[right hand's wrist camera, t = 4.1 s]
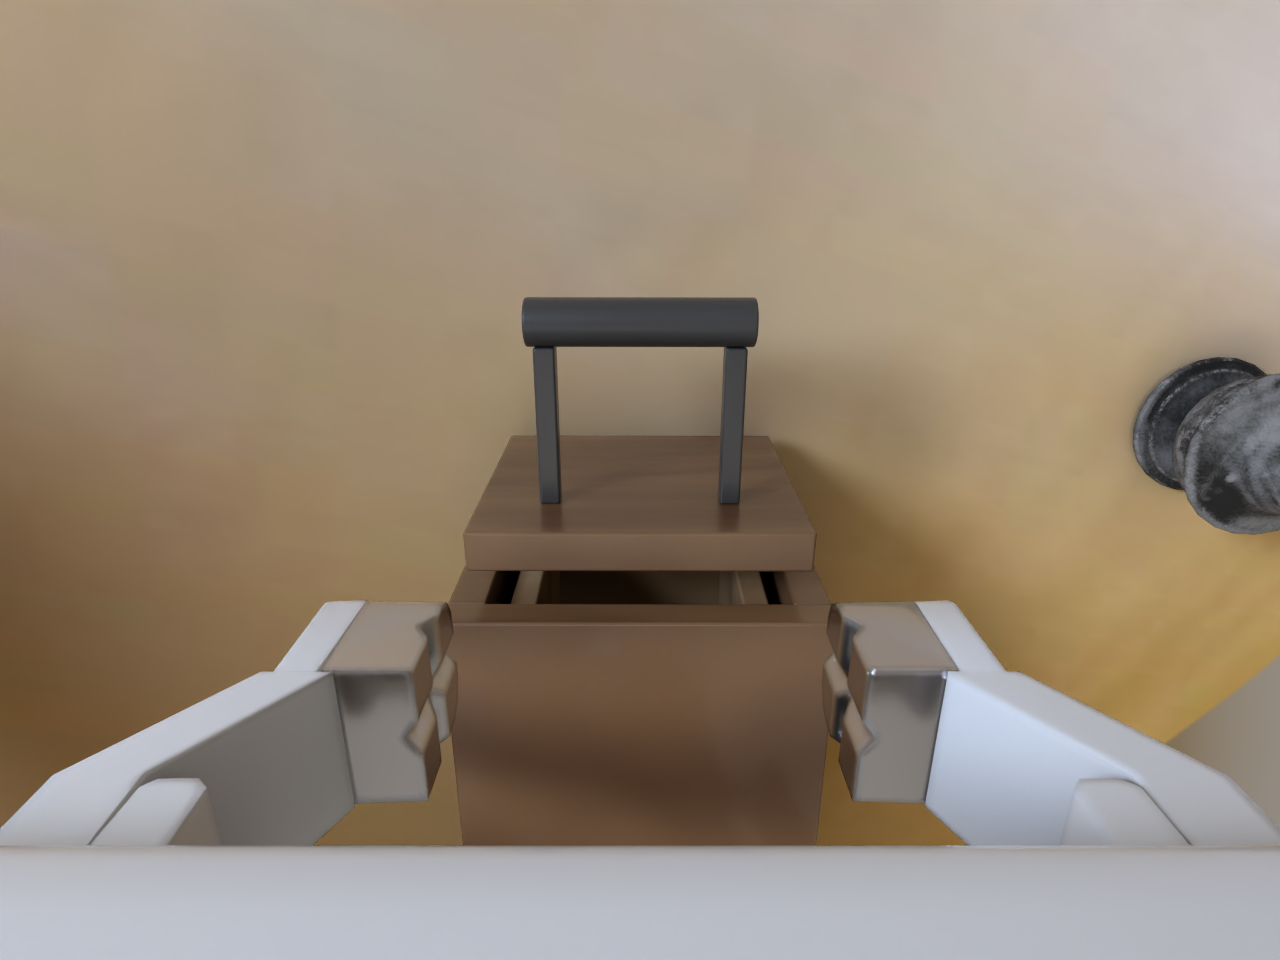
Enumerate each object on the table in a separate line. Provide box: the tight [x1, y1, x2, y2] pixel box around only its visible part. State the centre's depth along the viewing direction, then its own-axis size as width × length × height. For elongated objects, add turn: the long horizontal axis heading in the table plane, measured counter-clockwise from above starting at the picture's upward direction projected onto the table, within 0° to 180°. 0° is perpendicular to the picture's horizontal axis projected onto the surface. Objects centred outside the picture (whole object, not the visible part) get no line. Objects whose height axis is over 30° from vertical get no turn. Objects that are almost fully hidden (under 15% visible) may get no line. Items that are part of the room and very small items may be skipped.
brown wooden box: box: [447, 565, 833, 846], centre depth 30 cm, size 21×11×11 cm, turn 0°
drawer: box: [463, 297, 816, 604], centre depth 28 cm, size 25×10×9 cm, turn 0°
